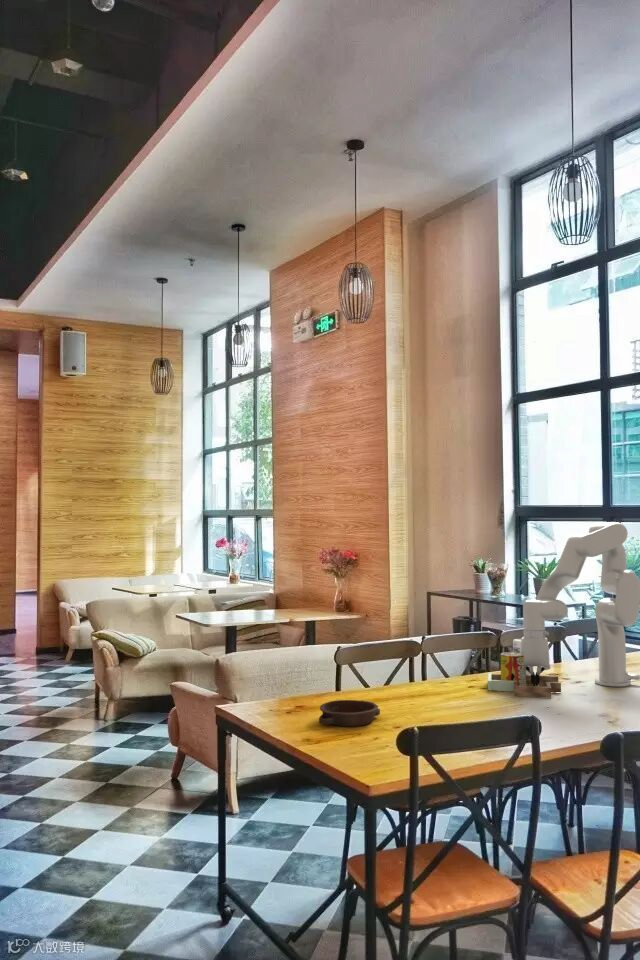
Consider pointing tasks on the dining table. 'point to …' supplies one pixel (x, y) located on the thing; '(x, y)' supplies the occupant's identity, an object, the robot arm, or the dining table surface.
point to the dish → (348, 712)
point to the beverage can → (513, 668)
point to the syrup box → (518, 649)
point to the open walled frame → (535, 691)
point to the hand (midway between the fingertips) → (535, 685)
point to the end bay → (500, 684)
